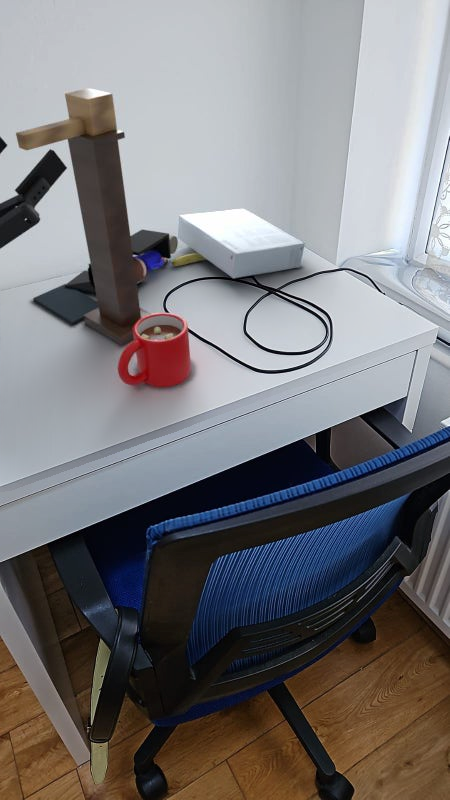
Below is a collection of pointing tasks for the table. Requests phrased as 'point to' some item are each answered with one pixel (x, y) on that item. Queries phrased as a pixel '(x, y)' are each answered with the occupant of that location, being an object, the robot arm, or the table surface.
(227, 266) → the skincare box
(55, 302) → the mat
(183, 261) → the banana
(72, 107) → the wooden toy mallet
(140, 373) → the mug
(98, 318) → the stand
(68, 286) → the black angular block
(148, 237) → the figurine character
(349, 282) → the table surface
